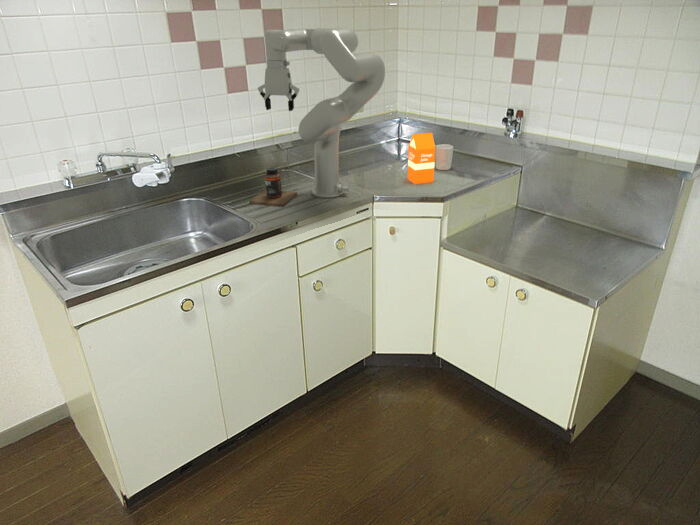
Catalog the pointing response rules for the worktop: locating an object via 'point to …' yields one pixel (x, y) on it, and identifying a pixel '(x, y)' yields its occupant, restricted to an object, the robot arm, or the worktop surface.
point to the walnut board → (280, 201)
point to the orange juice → (421, 158)
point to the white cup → (444, 156)
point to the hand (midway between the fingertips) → (279, 109)
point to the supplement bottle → (273, 183)
